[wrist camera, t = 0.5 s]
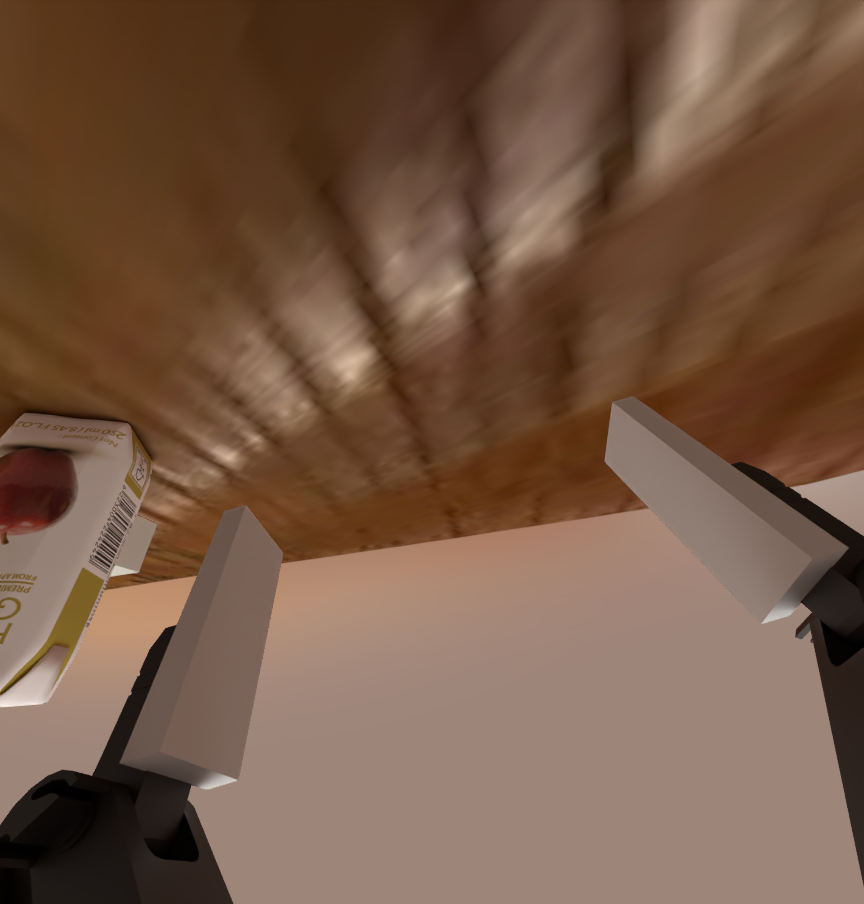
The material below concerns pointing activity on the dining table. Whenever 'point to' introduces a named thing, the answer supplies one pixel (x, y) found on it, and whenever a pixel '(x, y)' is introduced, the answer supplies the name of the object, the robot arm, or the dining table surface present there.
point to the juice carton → (59, 539)
